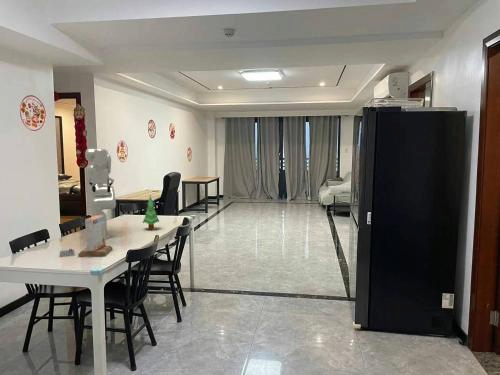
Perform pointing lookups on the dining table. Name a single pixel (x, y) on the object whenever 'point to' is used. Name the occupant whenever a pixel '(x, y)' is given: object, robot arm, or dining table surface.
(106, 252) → the plinth
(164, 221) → the dining table surface
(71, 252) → the bracket
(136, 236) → the dining table surface
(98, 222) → the cracker box
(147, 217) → the decorative tree
